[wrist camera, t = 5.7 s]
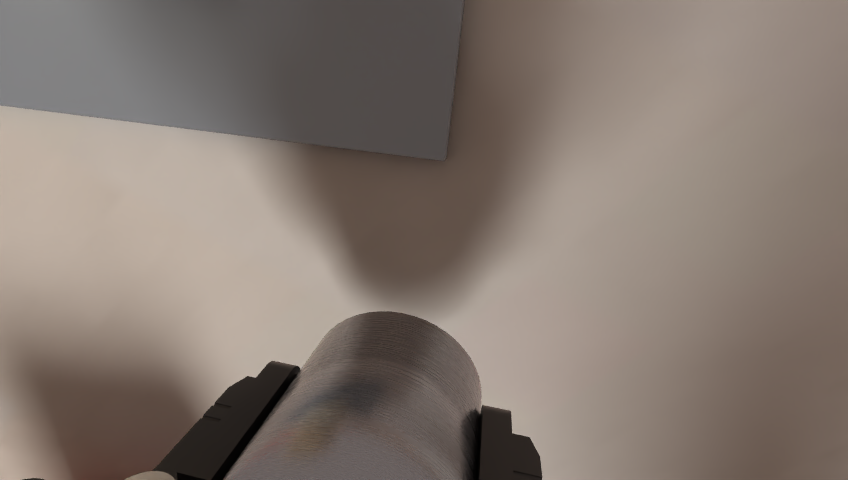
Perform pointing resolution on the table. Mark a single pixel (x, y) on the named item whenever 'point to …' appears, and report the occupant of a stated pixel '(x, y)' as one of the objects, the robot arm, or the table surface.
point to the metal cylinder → (373, 408)
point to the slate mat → (243, 67)
